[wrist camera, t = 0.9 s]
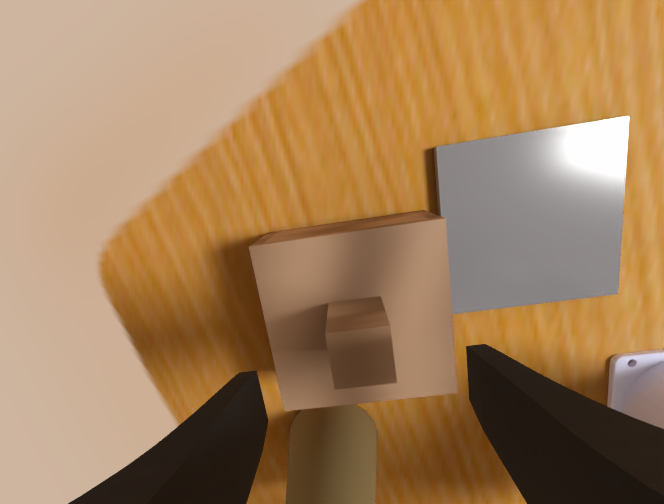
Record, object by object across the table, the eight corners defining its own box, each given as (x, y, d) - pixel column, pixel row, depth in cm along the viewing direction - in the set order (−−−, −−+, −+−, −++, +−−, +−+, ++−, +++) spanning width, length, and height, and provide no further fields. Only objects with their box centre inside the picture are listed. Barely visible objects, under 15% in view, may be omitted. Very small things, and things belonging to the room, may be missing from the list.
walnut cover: (424, 210, 17) (474, 228, 11) (435, 352, 19) (484, 442, 13) (267, 233, 18) (223, 263, 11) (295, 368, 20) (271, 462, 13)
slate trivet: (620, 117, 16) (629, 115, 15) (610, 290, 18) (618, 294, 17) (433, 147, 16) (436, 146, 16) (445, 311, 18) (447, 314, 18)
